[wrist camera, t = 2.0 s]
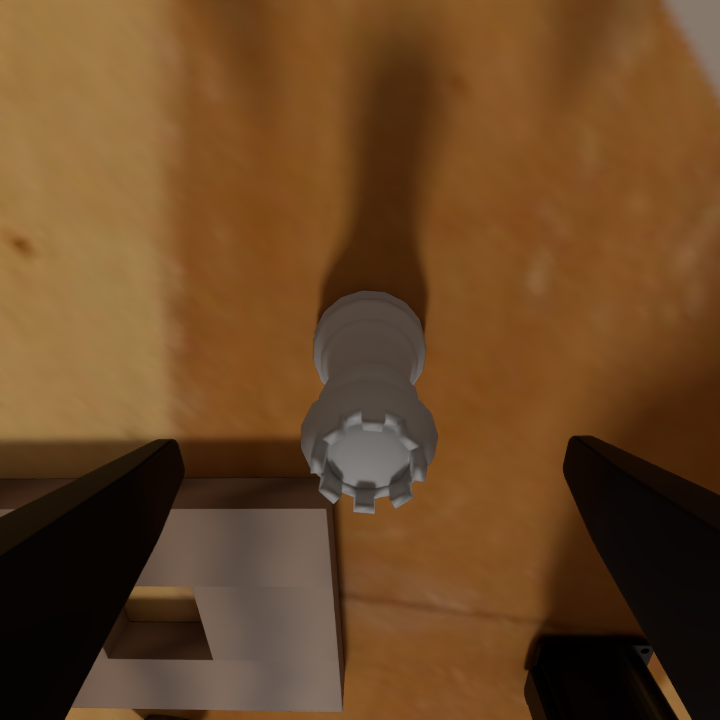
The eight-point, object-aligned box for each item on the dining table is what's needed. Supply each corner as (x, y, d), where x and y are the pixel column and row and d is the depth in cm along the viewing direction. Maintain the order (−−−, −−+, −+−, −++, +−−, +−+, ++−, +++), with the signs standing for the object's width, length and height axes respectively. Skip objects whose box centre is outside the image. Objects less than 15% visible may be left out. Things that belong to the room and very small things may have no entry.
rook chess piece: (441, 360, 16) (506, 501, 8) (349, 405, 16) (333, 568, 9) (392, 266, 14) (416, 333, 7) (294, 321, 15) (221, 433, 8)
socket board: (330, 477, 18) (325, 508, 16) (344, 673, 24) (342, 712, 22) (-65, 479, 19) (-112, 509, 17) (47, 669, 25) (21, 706, 23)
